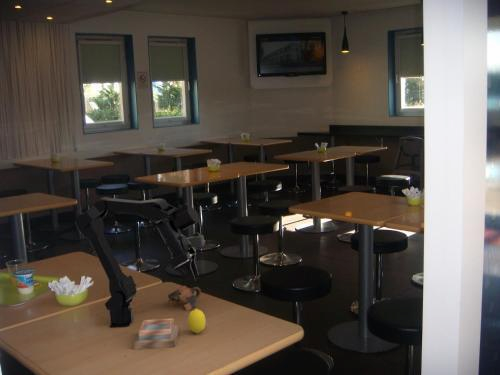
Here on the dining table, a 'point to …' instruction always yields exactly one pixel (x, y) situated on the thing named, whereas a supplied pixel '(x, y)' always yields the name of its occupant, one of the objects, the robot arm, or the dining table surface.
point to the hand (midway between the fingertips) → (196, 280)
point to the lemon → (196, 321)
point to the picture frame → (157, 334)
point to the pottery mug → (185, 296)
